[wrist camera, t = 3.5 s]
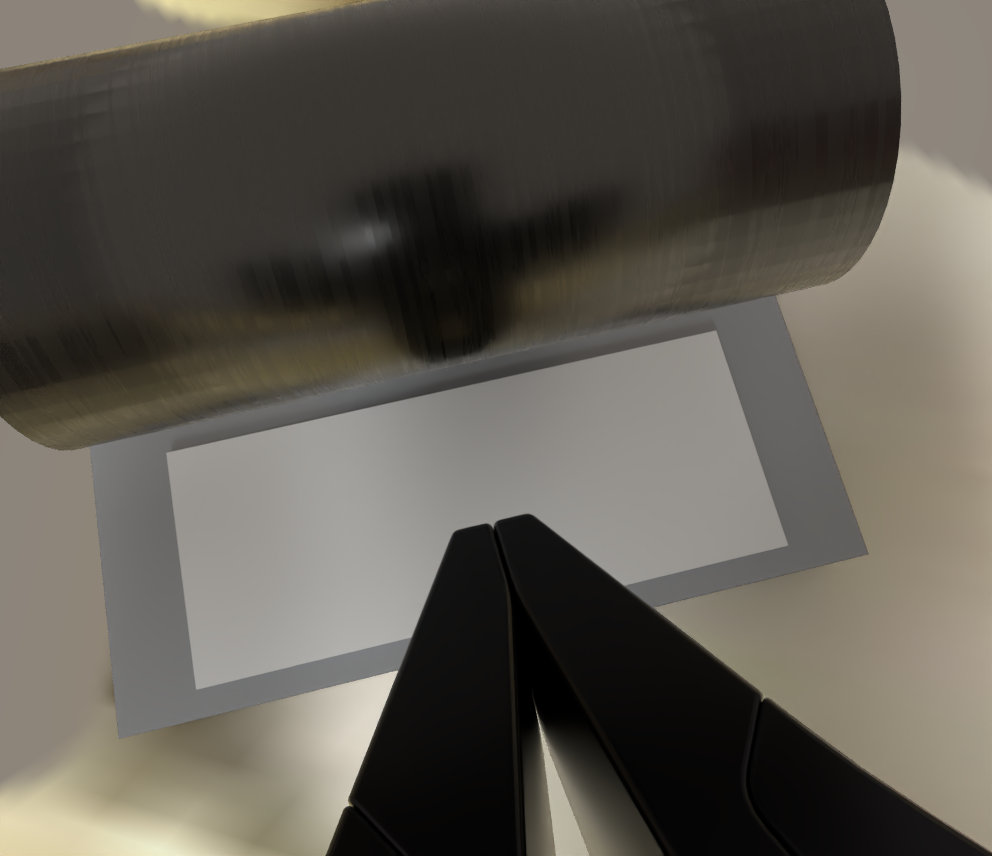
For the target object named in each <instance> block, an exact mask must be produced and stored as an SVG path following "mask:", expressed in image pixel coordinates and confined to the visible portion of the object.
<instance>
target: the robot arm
mask: <svg viewBox="0 0 992 856" xmlns="http://www.w3.org/2000/svg"><path fill="white" fill-rule="evenodd" d="M535 708H536V709H535ZM536 711H537V714H536ZM537 715H538V718H539V722H540V725H541V729H542V732H543V735H544V737H545V740H546V743H547V746H548V749H549V752H550V754H551V757H552V759H553V762H554V764H555V767H556V770H557V772H558V775H559V777H560V780H561V782H562V785H563V788H564V790H565V793H566V795H567V798H568V800H569V803H570V806H571V808H572V811H573V813H574V816H575V819H576V821H577V824H578V826H579V829H580V831H581V834H582V837H583V839H584V842H585V844H586V847H587V849H588V852H589V855H590V856H992V852H991V851H989V850H988V849H986V848H984V847H983V846H981V845H980V844H978V843H977V842H975V841H973V840H972V839H970V838H969V837H967V836H966V835H964V834H962V833H961V832H959V831H958V830H956V829H954V828H953V827H951V826H950V825H948V824H947V823H945V822H943V821H942V820H940V819H939V818H937V817H936V816H934V815H932V814H931V813H929V812H928V811H926V810H925V809H923V808H922V807H920V806H919V805H917V804H916V803H914V802H913V801H911V800H910V799H908V798H907V797H905V796H904V795H902V794H901V793H899V792H898V791H896V790H895V789H893V788H892V787H890V786H889V785H887V784H886V783H884V782H883V781H881V780H880V779H878V778H877V777H875V776H874V775H872V774H871V773H869V772H868V771H866V770H865V769H863V768H862V767H860V766H859V765H857V764H856V763H855V762H853V761H852V760H851V759H849V758H848V757H847V756H845V755H844V754H843V753H841V752H840V751H838V750H837V749H836V748H834V747H833V746H832V745H830V744H829V743H828V742H826V741H825V740H824V739H822V738H821V737H819V736H818V735H817V734H815V733H814V732H813V731H811V730H810V729H809V728H807V727H806V726H804V725H803V724H802V723H801V722H799V721H798V720H797V719H795V718H794V717H793V716H792V715H790V714H789V713H788V712H787V711H785V710H784V709H783V708H781V707H780V706H779V705H778V704H776V703H775V702H774V701H773V700H771V699H769V698H766V699H764V700H763V695H762V693H761V692H760V691H759V690H758V689H757V688H755V687H754V686H753V685H751V684H750V683H749V682H748V681H746V680H745V679H744V678H742V677H741V676H740V675H739V674H737V673H736V672H735V671H733V670H732V669H731V668H730V667H728V666H727V665H726V664H724V663H723V662H722V661H721V660H719V659H718V658H717V657H715V656H714V655H713V654H712V653H710V652H709V651H708V650H706V649H705V648H704V647H703V646H701V645H700V644H699V643H697V642H696V641H695V640H694V639H692V638H691V637H690V636H688V635H687V634H686V633H685V632H683V631H682V630H681V629H679V628H678V627H677V626H676V625H674V624H673V623H672V622H670V621H669V620H668V619H667V618H665V617H664V616H663V615H661V614H660V613H659V612H658V611H656V610H655V609H654V608H652V607H651V606H650V605H648V604H647V603H646V602H645V601H643V600H642V599H641V598H639V597H638V596H637V595H636V594H634V593H633V592H632V591H630V590H629V589H628V588H627V587H625V586H624V585H623V584H621V583H620V582H619V581H618V580H616V579H615V578H614V577H612V576H611V575H610V574H609V573H607V572H606V571H605V570H603V569H602V568H601V567H600V566H598V565H597V564H596V563H594V562H593V561H592V560H591V559H589V558H588V557H587V556H585V555H584V554H583V553H582V552H580V551H579V550H578V549H576V548H575V547H574V546H573V545H571V544H570V543H569V542H567V541H566V540H565V539H564V538H562V537H561V536H560V535H558V534H557V533H556V532H555V531H553V530H552V529H551V528H549V527H548V526H547V525H546V524H544V523H543V522H542V521H540V520H539V519H538V518H537V517H535V516H534V515H532V514H529V513H528V514H522V515H518V516H513V517H509V518H505V519H501V520H498V521H496V522H495V524H494V529H493V527H492V526H491V525H490V524H488V523H484V524H480V525H475V526H471V527H467V528H462V529H458V530H456V531H455V532H453V534H452V536H451V538H450V540H449V543H448V545H447V548H446V550H445V553H444V555H443V558H442V561H441V563H440V566H439V568H438V571H437V573H436V576H435V578H434V581H433V584H432V586H431V589H430V591H429V594H428V596H427V599H426V601H425V604H424V607H423V609H422V612H421V614H420V617H419V619H418V622H417V624H416V627H415V630H414V632H413V635H412V637H411V640H410V642H409V645H408V647H407V650H406V653H405V655H404V658H403V660H402V663H401V665H400V668H399V670H398V673H397V676H396V678H395V681H394V683H393V686H392V688H391V691H390V693H389V696H388V699H387V701H386V704H385V706H384V709H383V711H382V714H381V716H380V719H379V722H378V724H377V727H376V729H375V732H374V734H373V737H372V739H371V742H370V745H369V747H368V750H367V752H366V755H365V757H364V760H363V762H362V765H361V768H360V770H359V773H358V775H357V778H356V780H355V783H354V785H353V788H352V791H351V793H350V796H349V799H348V802H349V805H350V806H347V807H346V808H345V809H344V810H343V812H342V815H341V818H340V820H339V823H338V825H337V828H336V830H335V833H334V836H333V838H332V841H331V843H330V846H329V848H328V851H327V853H326V856H556V853H555V845H554V837H553V829H552V820H551V812H550V804H549V796H548V787H547V779H546V771H545V763H544V754H543V748H542V741H541V734H540V728H539V723H538V718H537Z"/></svg>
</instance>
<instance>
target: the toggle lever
mask: <svg viewBox="0 0 992 856" xmlns="http://www.w3.org/2000/svg"><path fill="white" fill-rule="evenodd" d="M900 128H901V89H900V74H899V63H898V56H897V50H896V43H895V36H894V32H893V28H892V24H891V20H890V15H889V11H888V8H887V5H886V2H885V0H367V1H361V2H356V3H350V4H345V5H340V6H334V7H329V8H324V9H318V10H313V11H308V12H302V13H297V14H292V15H286V16H281V17H275V18H270V19H265V20H259V21H254V22H249V23H243V24H238V25H233V26H227V27H222V28H217V29H211V30H206V31H201V32H196V33H190V34H184V35H179V36H174V37H169V38H163V39H158V40H153V41H147V42H142V43H137V44H131V45H126V46H120V47H115V48H110V49H104V50H99V51H93V52H89V53H83V54H77V55H73V56H67V57H61V58H56V59H51V60H46V61H40V62H35V63H29V64H24V65H19V66H13V67H8V68H2V69H0V416H1V418H3V419H4V420H5V421H6V422H7V423H9V424H10V425H11V426H12V427H14V429H16V430H17V431H18V432H20V433H22V434H23V435H24V436H26V437H28V438H29V439H31V440H32V441H34V442H37V443H39V444H41V445H43V446H46V447H48V448H52V449H57V450H76V449H81V448H85V447H90V446H94V445H99V444H103V443H108V442H112V441H117V440H121V439H126V438H131V437H135V436H140V435H144V434H149V433H153V432H158V431H162V430H167V429H171V428H176V427H180V426H185V425H189V424H194V423H199V422H203V421H208V420H212V419H217V418H221V417H226V416H230V415H235V414H239V413H244V412H248V411H253V410H257V409H262V408H267V407H271V406H276V405H280V404H285V403H289V402H294V401H298V400H303V399H307V398H312V397H316V396H321V395H325V394H330V393H335V392H339V391H344V390H348V389H353V388H357V387H362V386H366V385H371V384H375V383H380V382H384V381H389V380H393V379H398V378H403V377H407V376H412V375H416V374H421V373H425V372H430V371H434V370H439V369H443V368H448V367H452V366H457V365H461V364H466V363H471V362H475V361H480V360H484V359H489V358H493V357H498V356H502V355H507V354H511V353H516V352H520V351H525V350H530V349H534V348H539V347H543V346H548V345H552V344H557V343H561V342H566V341H570V340H575V339H579V338H584V337H588V336H593V335H598V334H602V333H607V332H611V331H616V330H620V329H625V328H629V327H634V326H638V325H643V324H647V323H652V322H656V321H661V320H666V319H670V318H675V317H679V316H684V315H688V314H693V313H697V312H702V311H706V310H711V309H715V308H720V307H724V306H729V305H734V304H738V303H743V302H747V301H752V300H756V299H761V298H765V297H770V296H774V295H779V294H783V293H788V292H792V291H797V290H802V289H806V288H811V287H815V286H820V285H824V284H828V283H830V282H832V281H835V280H837V279H839V278H840V277H841V276H843V275H844V274H846V273H847V272H848V271H849V270H850V269H851V268H852V267H853V266H854V265H855V264H856V263H857V262H858V261H859V260H860V258H861V257H862V255H863V254H864V252H865V251H866V250H867V248H868V247H869V245H870V243H871V241H872V239H873V237H874V235H875V233H876V231H877V229H878V227H879V225H880V222H881V220H882V217H883V214H884V212H885V209H886V206H887V203H888V199H889V196H890V192H891V188H892V184H893V180H894V175H895V169H896V163H897V158H898V150H899V139H900Z"/></svg>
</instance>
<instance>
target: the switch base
mask: <svg viewBox="0 0 992 856" xmlns="http://www.w3.org/2000/svg"><path fill="white" fill-rule="evenodd" d="M90 454H91V464H92V474H93V484H94V494H95V504H96V514H97V525H98V535H99V544H100V555H101V565H102V575H103V585H104V595H105V605H106V615H107V625H108V635H109V645H110V655H111V666H112V676H113V686H114V696H115V706H116V716H117V726H118V736H119V739H120V738H124V737H128V736H132V735H137V734H141V733H145V732H149V731H153V730H157V729H161V728H165V727H169V726H173V725H177V724H181V723H185V722H189V721H193V720H197V719H202V718H206V717H210V716H214V715H218V714H222V713H226V712H230V711H234V710H238V709H242V708H246V707H250V706H254V705H258V704H262V703H266V702H271V701H275V700H279V699H283V698H287V697H291V696H295V695H299V694H303V693H307V692H311V691H315V690H319V689H323V688H327V687H331V686H336V685H340V684H344V683H348V682H352V681H356V680H360V679H364V678H368V677H372V676H376V675H380V674H384V673H388V672H392V671H396V670H399V668H400V665H401V663H402V660H403V658H404V655H405V653H406V650H407V647H408V645H409V642H410V640H411V637H412V635H413V632H414V630H415V627H416V624H417V622H418V619H419V617H420V614H421V612H422V609H423V607H424V604H425V601H426V599H427V596H428V594H429V591H430V589H431V586H432V584H433V581H434V578H435V576H436V573H437V571H438V568H439V566H440V563H441V561H442V558H443V555H444V553H445V550H446V548H447V545H448V543H449V540H450V538H451V536H452V534H453V532H455V531H456V530H458V529H462V528H467V527H471V526H475V525H480V524H484V523H488V524H490V525H491V526H492V527H493V529H494V524H495V522H496V521H498V520H501V519H505V518H509V517H513V516H518V515H522V514H528V513H529V514H532V515H534V516H535V517H537V518H538V519H539V520H540V521H542V522H543V523H544V524H546V525H547V526H548V527H549V528H551V529H552V530H553V531H555V532H556V533H557V534H558V535H560V536H561V537H562V538H564V539H565V540H566V541H567V542H569V543H570V544H571V545H573V546H574V547H575V548H576V549H578V550H579V551H580V552H582V553H583V554H584V555H585V556H587V557H588V558H589V559H591V560H592V561H593V562H594V563H596V564H597V565H598V566H600V567H601V568H602V569H603V570H605V571H606V572H607V573H609V574H610V575H611V576H612V577H614V578H615V579H616V580H618V581H619V582H620V583H621V584H623V585H624V586H625V587H627V588H628V589H629V590H630V591H632V592H633V593H634V594H636V595H637V596H638V597H639V598H641V599H642V600H643V601H645V602H646V603H647V604H648V605H650V606H651V607H656V606H660V605H664V604H669V603H673V602H677V601H681V600H685V599H689V598H693V597H697V596H701V595H705V594H709V593H713V592H717V591H721V590H725V589H729V588H733V587H738V586H742V585H746V584H750V583H754V582H758V581H762V580H766V579H770V578H774V577H778V576H782V575H786V574H790V573H794V572H798V571H803V570H807V569H811V568H815V567H819V566H823V565H827V564H831V563H835V562H839V561H843V560H847V559H851V558H855V557H859V556H863V555H868V551H867V548H866V546H865V543H864V540H863V537H862V534H861V532H860V529H859V526H858V523H857V521H856V518H855V515H854V512H853V510H852V507H851V504H850V501H849V499H848V496H847V493H846V490H845V487H844V485H843V482H842V479H841V476H840V474H839V471H838V468H837V465H836V463H835V460H834V457H833V454H832V452H831V449H830V446H829V443H828V440H827V438H826V435H825V432H824V429H823V427H822V424H821V421H820V418H819V416H818V413H817V410H816V407H815V405H814V402H813V399H812V396H811V393H810V391H809V388H808V385H807V382H806V380H805V377H804V374H803V371H802V369H801V366H800V363H799V360H798V358H797V355H796V352H795V349H794V346H793V344H792V341H791V338H790V335H789V333H788V330H787V327H786V324H785V322H784V319H783V316H782V313H781V311H780V308H779V305H778V302H777V299H776V297H775V295H774V296H770V297H765V298H761V299H756V300H752V301H747V302H743V303H738V304H734V305H729V306H724V307H720V308H715V309H711V310H706V311H702V312H697V313H693V314H688V315H684V316H679V317H675V318H670V319H666V320H661V321H656V322H652V323H647V324H643V325H638V326H634V327H629V328H625V329H620V330H616V331H611V332H607V333H602V334H598V335H593V336H588V337H584V338H579V339H575V340H570V341H566V342H561V343H557V344H552V345H548V346H543V347H539V348H534V349H530V350H525V351H520V352H516V353H511V354H507V355H502V356H498V357H493V358H489V359H484V360H480V361H475V362H471V363H466V364H461V365H457V366H452V367H448V368H443V369H439V370H434V371H430V372H425V373H421V374H416V375H412V376H407V377H403V378H398V379H393V380H389V381H384V382H380V383H375V384H371V385H366V386H362V387H357V388H353V389H348V390H344V391H339V392H335V393H330V394H325V395H321V396H316V397H312V398H307V399H303V400H298V401H294V402H289V403H285V404H280V405H276V406H271V407H267V408H262V409H257V410H253V411H248V412H244V413H239V414H235V415H230V416H226V417H221V418H217V419H212V420H208V421H203V422H199V423H194V424H189V425H185V426H180V427H176V428H171V429H167V430H162V431H158V432H153V433H149V434H144V435H140V436H135V437H131V438H126V439H121V440H117V441H112V442H108V443H103V444H99V445H94V446H90Z"/></svg>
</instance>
